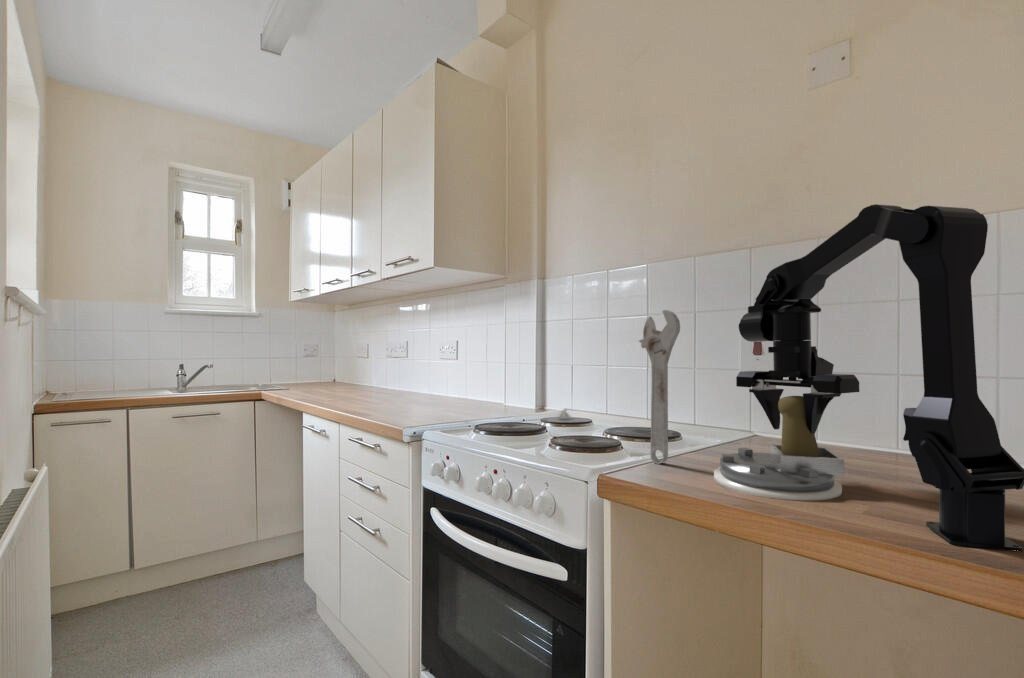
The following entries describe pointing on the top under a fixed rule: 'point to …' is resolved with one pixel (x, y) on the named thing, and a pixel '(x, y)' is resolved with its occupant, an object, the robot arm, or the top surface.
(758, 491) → the base plate
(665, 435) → the wrench
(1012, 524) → the top surface
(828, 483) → the grey tabbed disc
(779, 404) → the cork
